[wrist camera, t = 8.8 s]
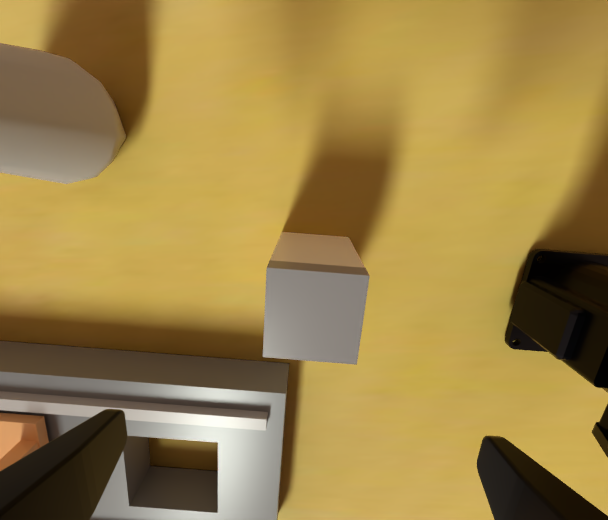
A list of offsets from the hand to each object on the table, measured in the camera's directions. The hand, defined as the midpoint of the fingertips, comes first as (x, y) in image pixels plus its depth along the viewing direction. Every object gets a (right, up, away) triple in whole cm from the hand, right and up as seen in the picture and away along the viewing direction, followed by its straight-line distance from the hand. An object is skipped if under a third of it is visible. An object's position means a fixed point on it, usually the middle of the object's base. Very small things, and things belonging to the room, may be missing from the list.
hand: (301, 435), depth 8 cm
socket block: (-12, -8, +16) cm, 22 cm away
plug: (+1, +4, +12) cm, 12 cm away
